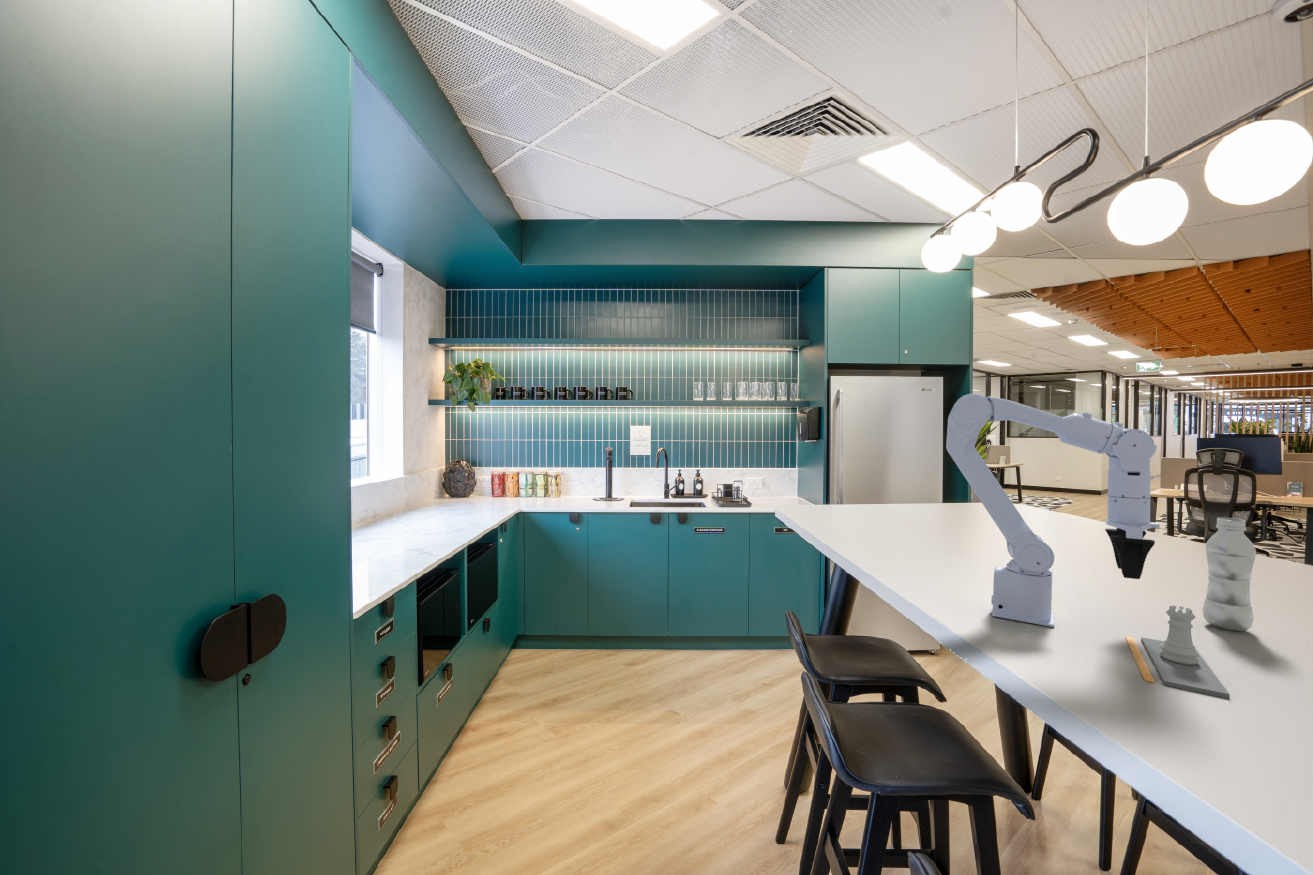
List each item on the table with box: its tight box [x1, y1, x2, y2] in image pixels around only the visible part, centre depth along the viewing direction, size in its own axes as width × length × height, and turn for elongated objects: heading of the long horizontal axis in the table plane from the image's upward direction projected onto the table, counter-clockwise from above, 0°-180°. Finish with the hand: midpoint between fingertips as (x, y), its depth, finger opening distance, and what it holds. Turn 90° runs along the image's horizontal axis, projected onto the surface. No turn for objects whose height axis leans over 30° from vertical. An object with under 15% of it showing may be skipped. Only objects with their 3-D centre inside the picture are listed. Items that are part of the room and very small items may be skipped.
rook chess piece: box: [1160, 604, 1200, 665], centre depth 84 cm, size 4×4×8 cm
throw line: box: [1125, 636, 1155, 683], centre depth 86 cm, size 1×20×1 cm, turn 146°
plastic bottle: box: [1202, 517, 1257, 632], centre depth 100 cm, size 6×7×20 cm
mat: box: [1140, 636, 1231, 699], centre depth 83 cm, size 6×20×1 cm, turn 145°
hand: (1128, 573), depth 97 cm, fingers open, 7 cm apart
